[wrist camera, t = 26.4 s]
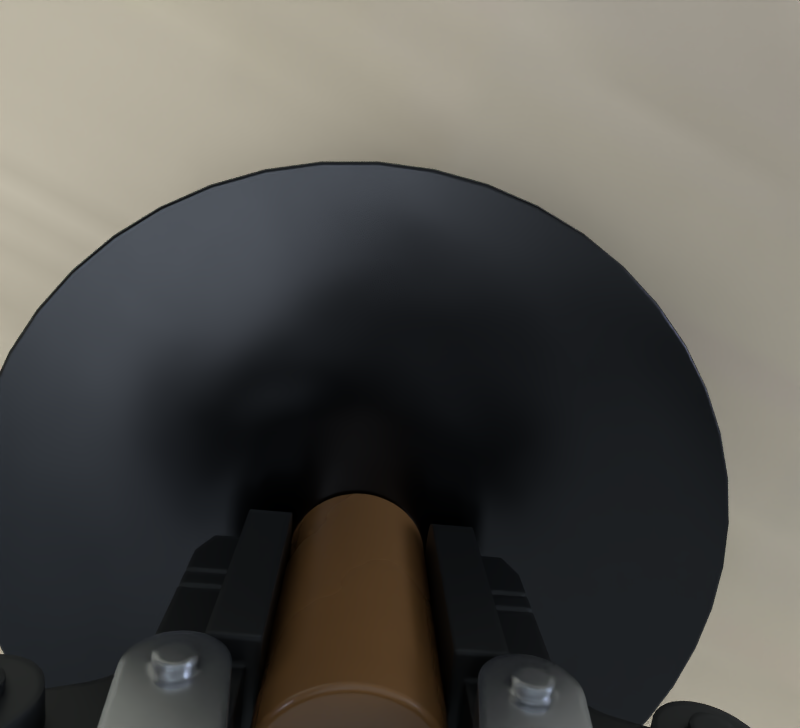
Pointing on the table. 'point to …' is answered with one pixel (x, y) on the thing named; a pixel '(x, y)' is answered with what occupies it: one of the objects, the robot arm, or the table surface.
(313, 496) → the lid
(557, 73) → the table surface
